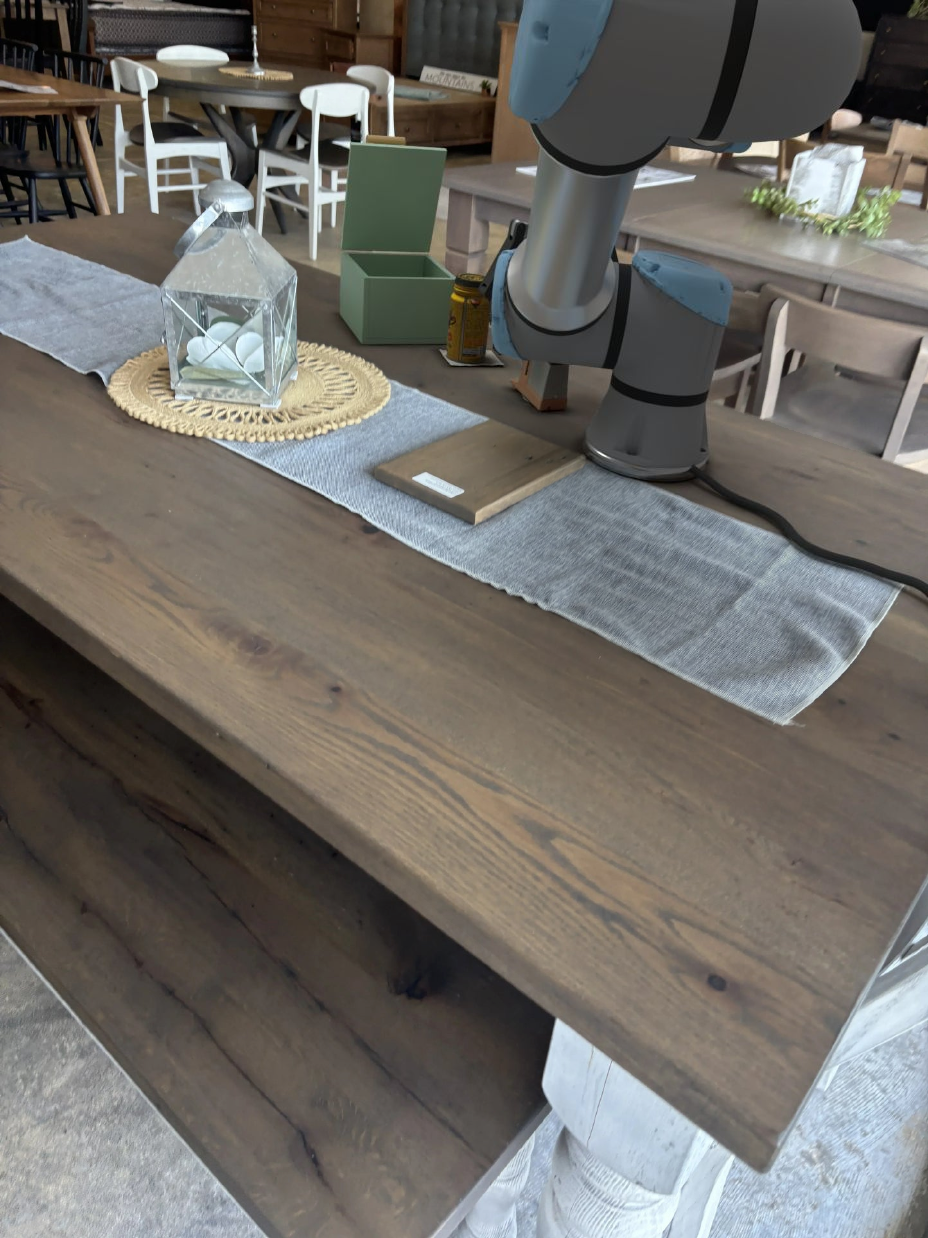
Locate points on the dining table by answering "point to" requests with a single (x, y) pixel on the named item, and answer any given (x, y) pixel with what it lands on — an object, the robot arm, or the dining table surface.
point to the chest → (395, 298)
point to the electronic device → (543, 384)
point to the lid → (391, 195)
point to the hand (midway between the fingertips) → (544, 351)
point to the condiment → (469, 324)
